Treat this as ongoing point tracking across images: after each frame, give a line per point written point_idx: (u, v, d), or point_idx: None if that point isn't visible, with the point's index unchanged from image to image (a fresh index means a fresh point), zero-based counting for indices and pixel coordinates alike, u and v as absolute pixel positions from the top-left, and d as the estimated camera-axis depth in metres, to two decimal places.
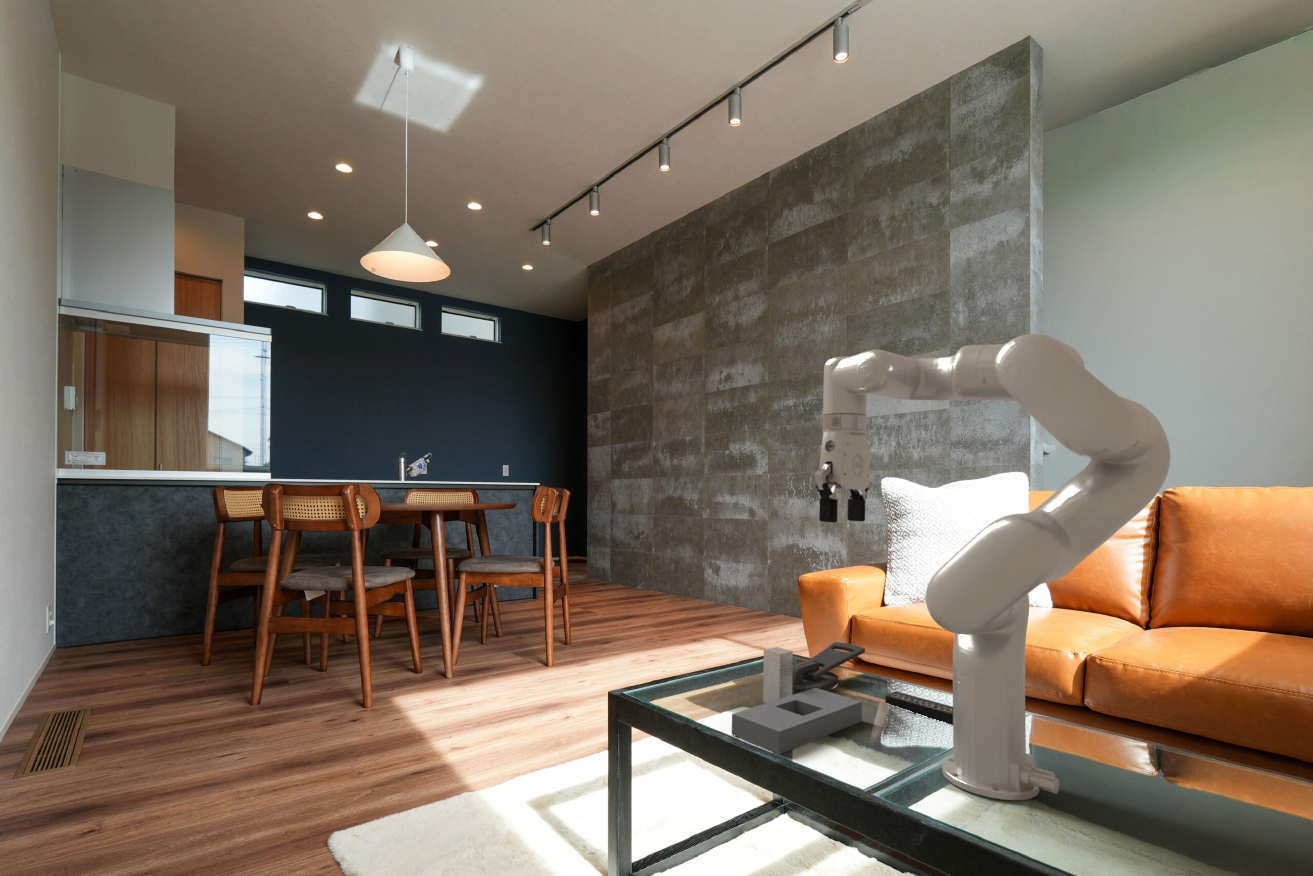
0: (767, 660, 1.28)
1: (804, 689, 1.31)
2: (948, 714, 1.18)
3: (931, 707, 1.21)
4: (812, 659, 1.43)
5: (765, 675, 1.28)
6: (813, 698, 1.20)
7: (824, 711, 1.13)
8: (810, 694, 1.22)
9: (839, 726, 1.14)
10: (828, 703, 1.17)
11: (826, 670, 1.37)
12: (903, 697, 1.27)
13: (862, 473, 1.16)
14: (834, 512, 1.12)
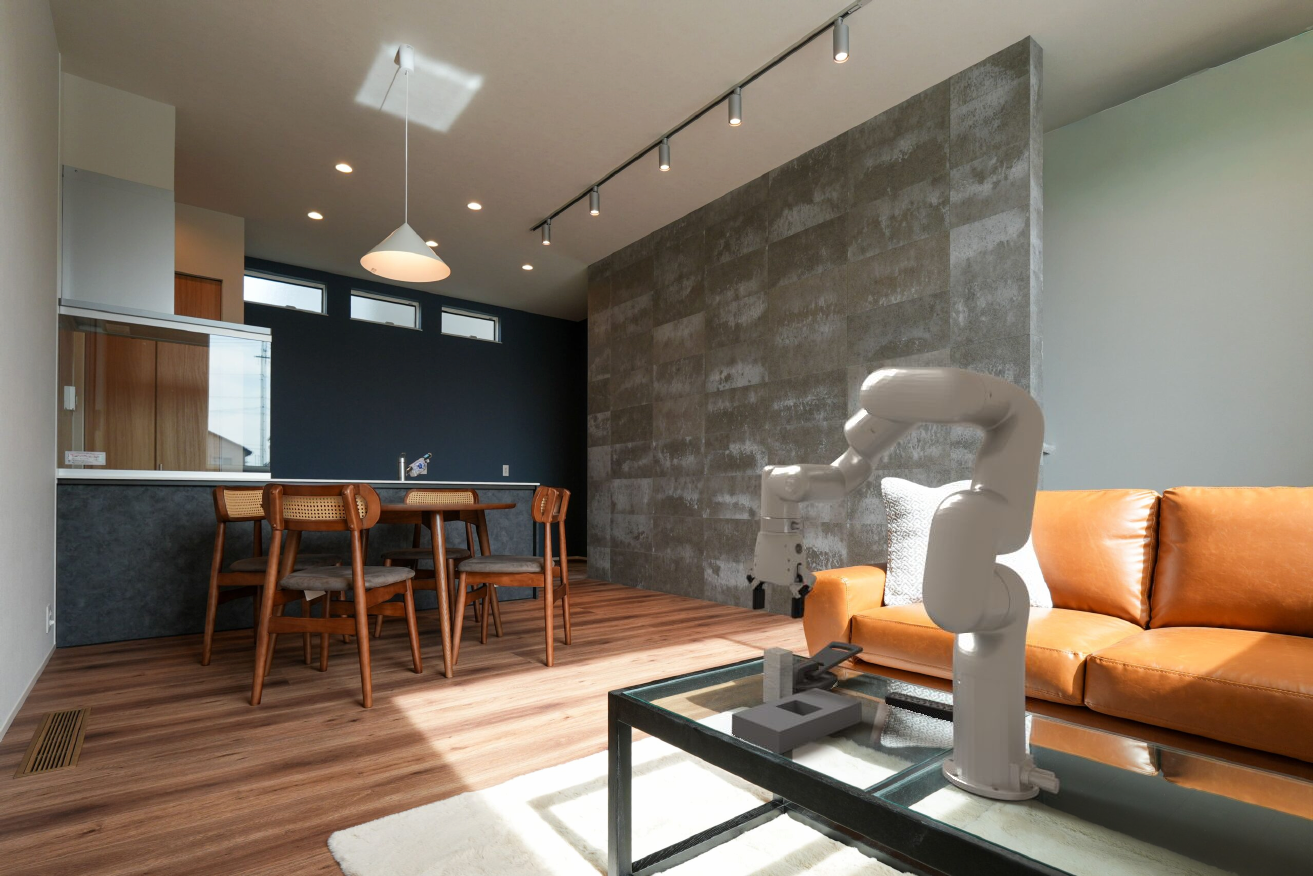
0: (767, 660, 1.28)
1: (805, 689, 1.31)
2: (952, 713, 1.19)
3: (934, 706, 1.22)
4: (811, 658, 1.43)
5: (765, 675, 1.28)
6: (813, 698, 1.20)
7: (824, 711, 1.13)
8: (810, 694, 1.22)
9: (839, 726, 1.14)
10: (828, 703, 1.17)
11: (826, 669, 1.38)
12: (902, 697, 1.27)
13: None
14: None
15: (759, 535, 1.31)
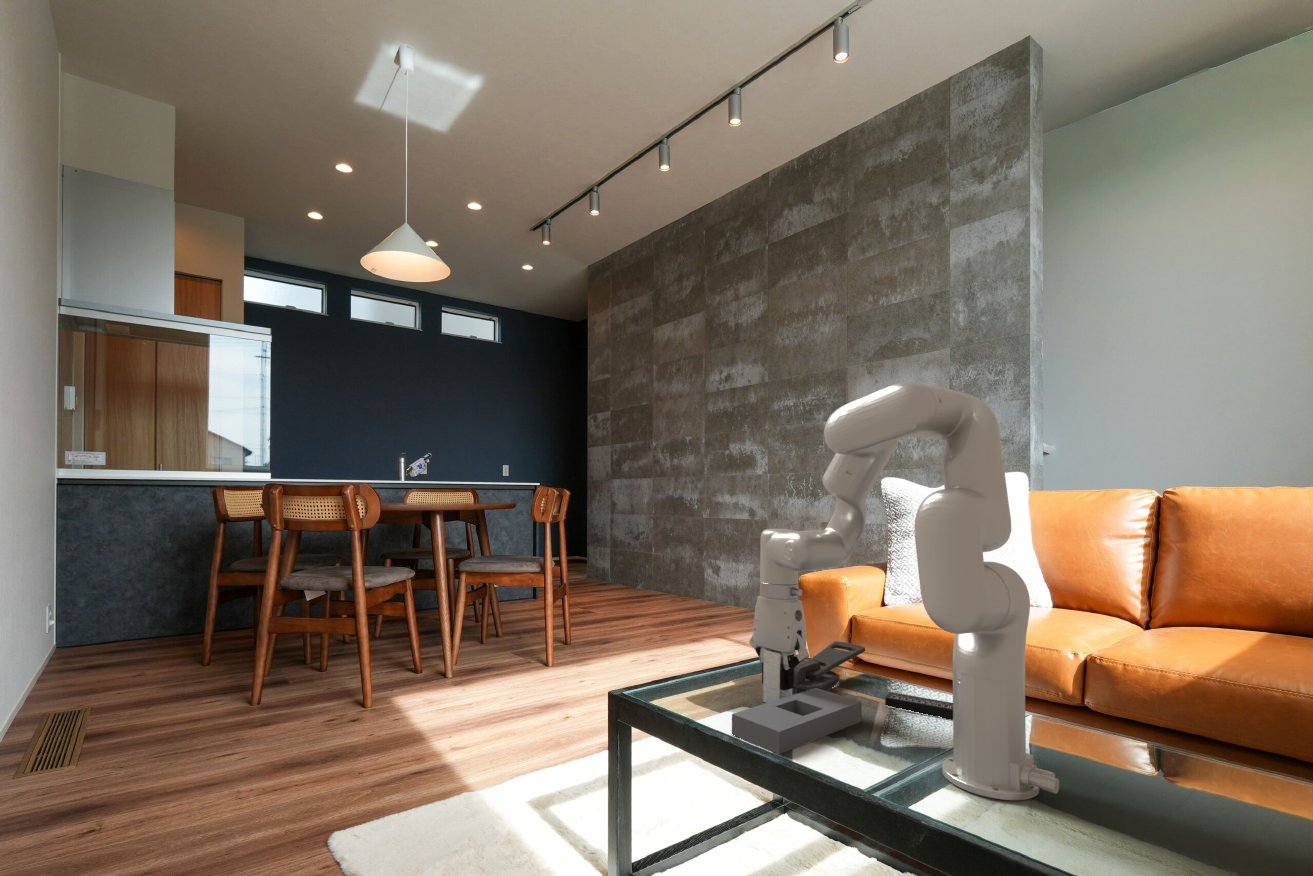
0: (767, 660, 1.28)
1: (806, 688, 1.31)
2: None
3: (936, 706, 1.22)
4: (813, 658, 1.43)
5: (765, 675, 1.28)
6: (813, 698, 1.20)
7: (824, 711, 1.13)
8: (810, 694, 1.22)
9: (839, 726, 1.14)
10: (828, 703, 1.17)
11: (827, 669, 1.38)
12: (902, 698, 1.26)
13: None
14: None
15: (758, 600, 1.30)
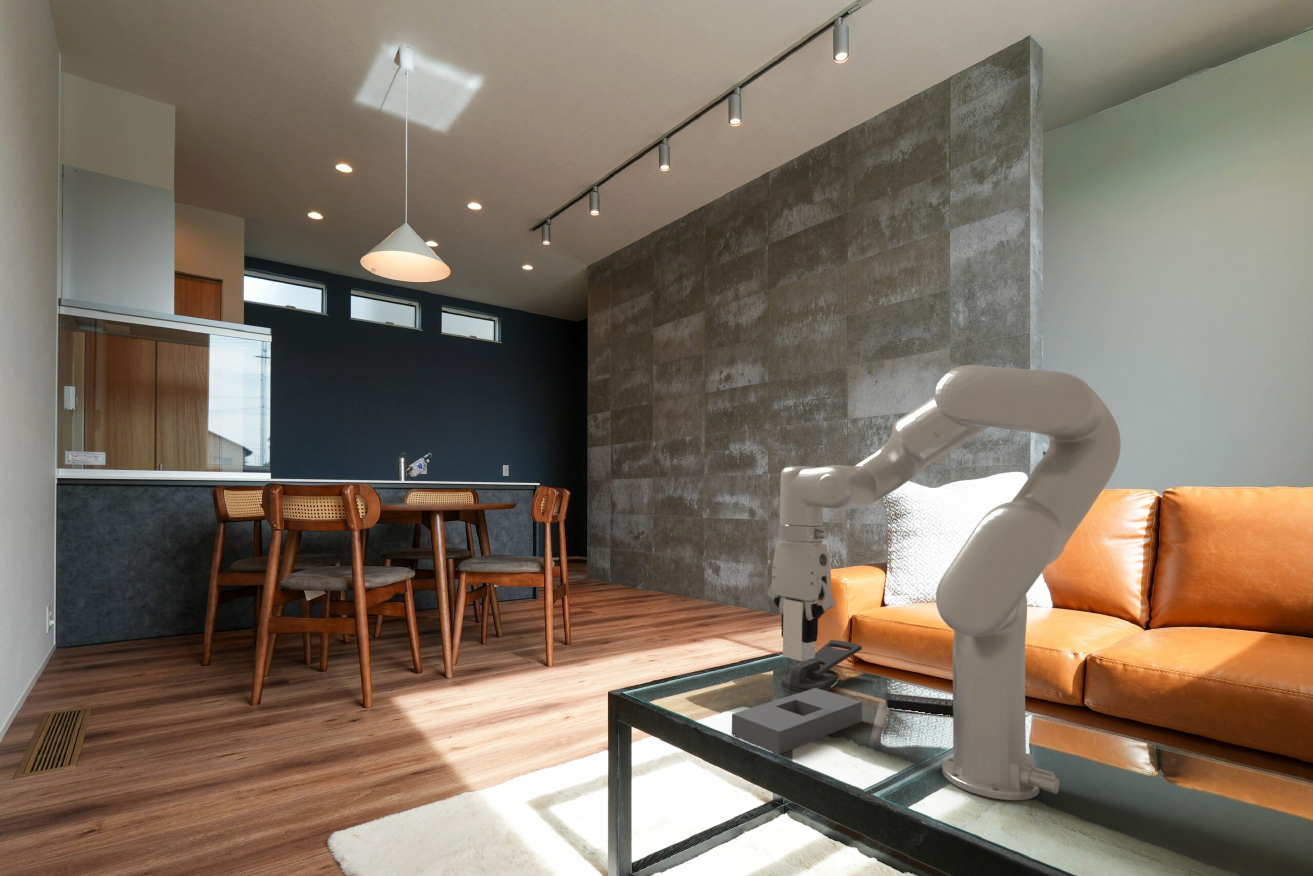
0: (787, 610, 1.15)
1: (808, 687, 1.32)
2: None
3: (938, 703, 1.23)
4: None
5: (785, 627, 1.15)
6: (813, 698, 1.20)
7: (824, 711, 1.13)
8: (810, 694, 1.22)
9: (839, 726, 1.14)
10: (828, 703, 1.17)
11: (827, 668, 1.39)
12: (902, 698, 1.26)
13: None
14: None
15: (778, 545, 1.18)
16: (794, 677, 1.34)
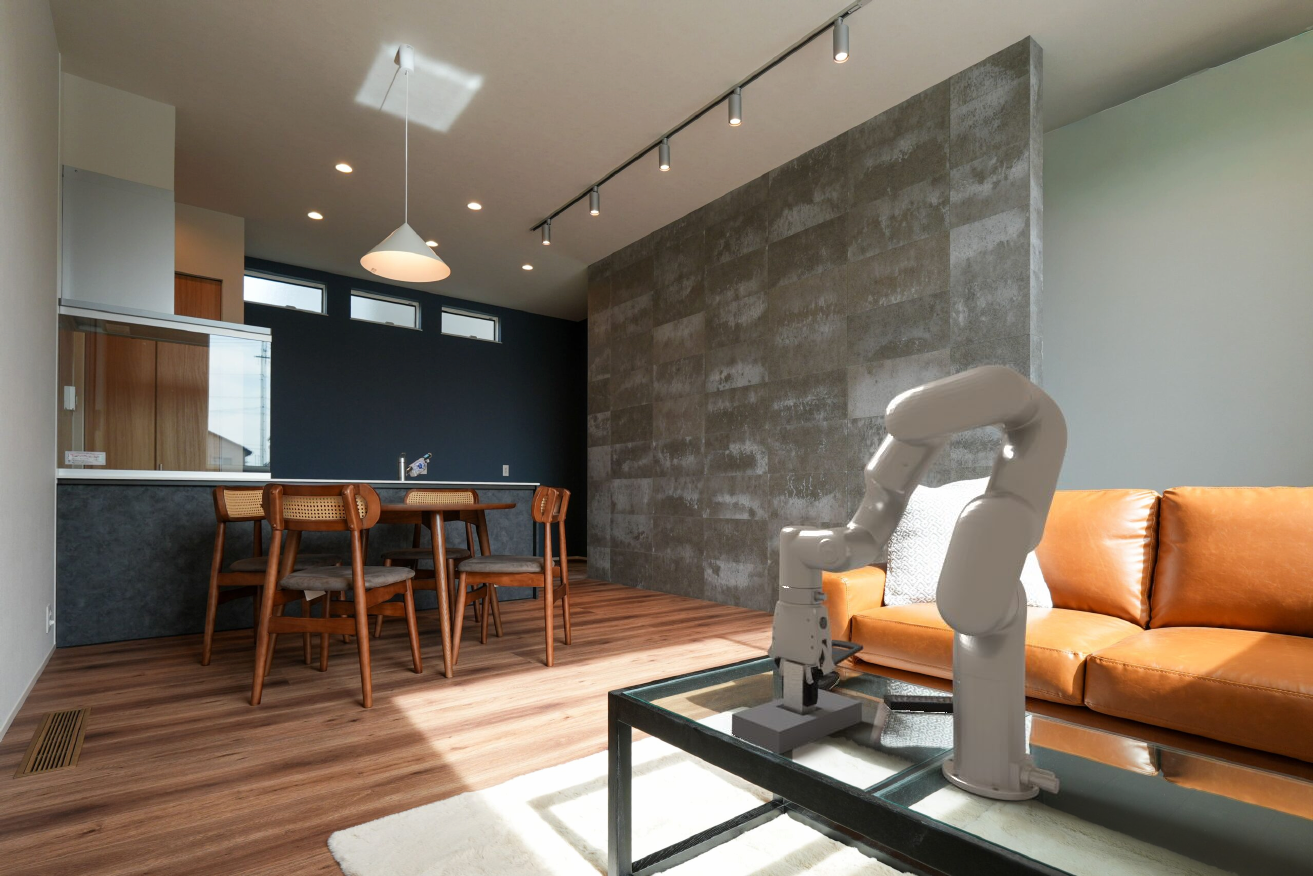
0: (788, 672, 1.14)
1: None
2: None
3: (938, 702, 1.24)
4: None
5: (785, 689, 1.14)
6: None
7: (824, 711, 1.13)
8: None
9: (839, 726, 1.14)
10: (828, 703, 1.17)
11: None
12: (903, 699, 1.26)
13: None
14: None
15: (778, 605, 1.17)
16: None
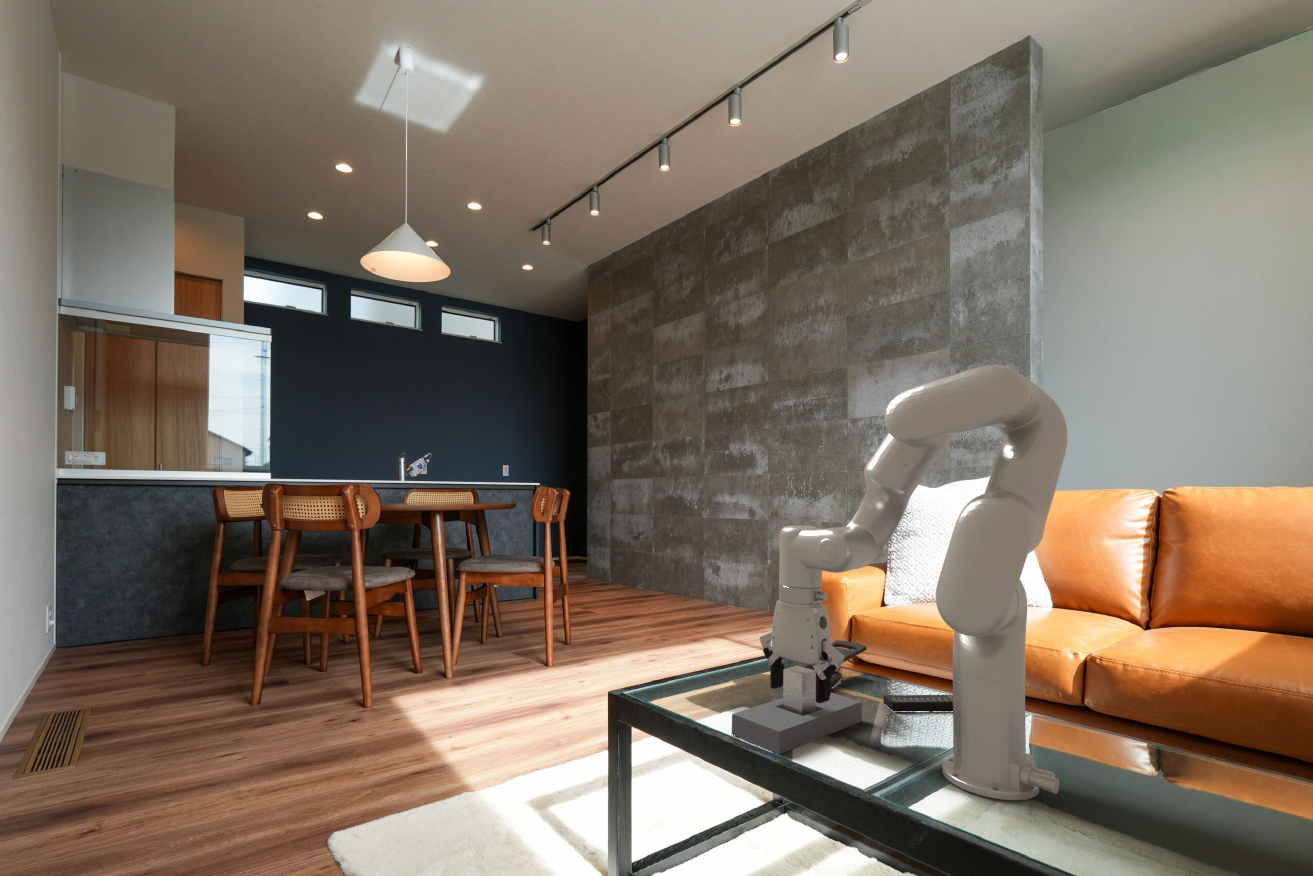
0: (787, 681, 1.14)
1: None
2: None
3: (937, 701, 1.25)
4: None
5: (785, 698, 1.14)
6: None
7: (824, 711, 1.13)
8: None
9: (839, 726, 1.14)
10: (828, 703, 1.17)
11: None
12: (903, 699, 1.26)
13: None
14: None
15: (777, 605, 1.17)
16: None
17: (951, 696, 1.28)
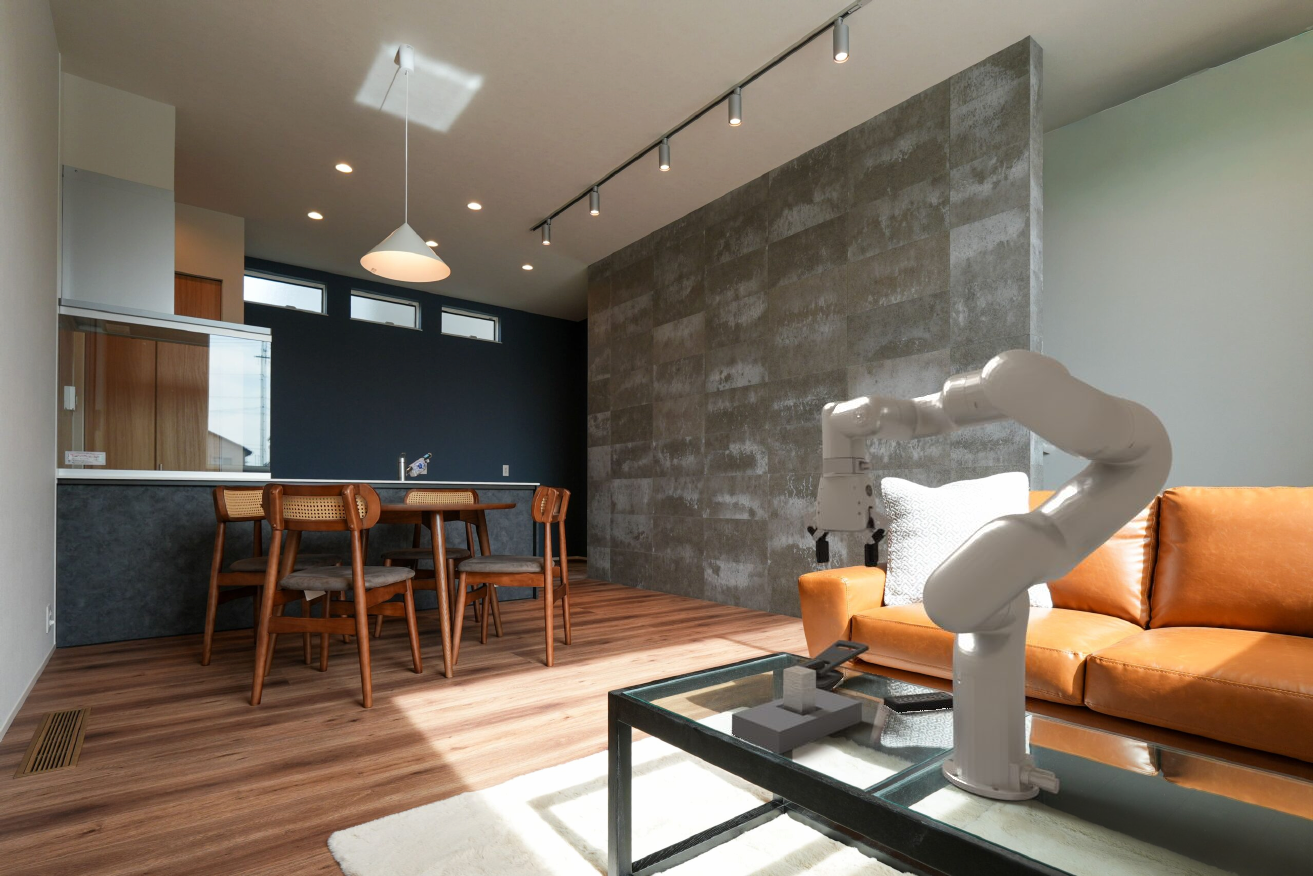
0: (787, 681, 1.14)
1: None
2: (952, 700, 1.27)
3: (935, 699, 1.26)
4: (817, 657, 1.45)
5: (785, 698, 1.14)
6: None
7: (824, 711, 1.13)
8: None
9: (839, 726, 1.14)
10: (828, 703, 1.17)
11: (832, 667, 1.39)
12: (904, 700, 1.25)
13: None
14: None
15: (822, 480, 1.19)
16: None
17: (944, 693, 1.30)
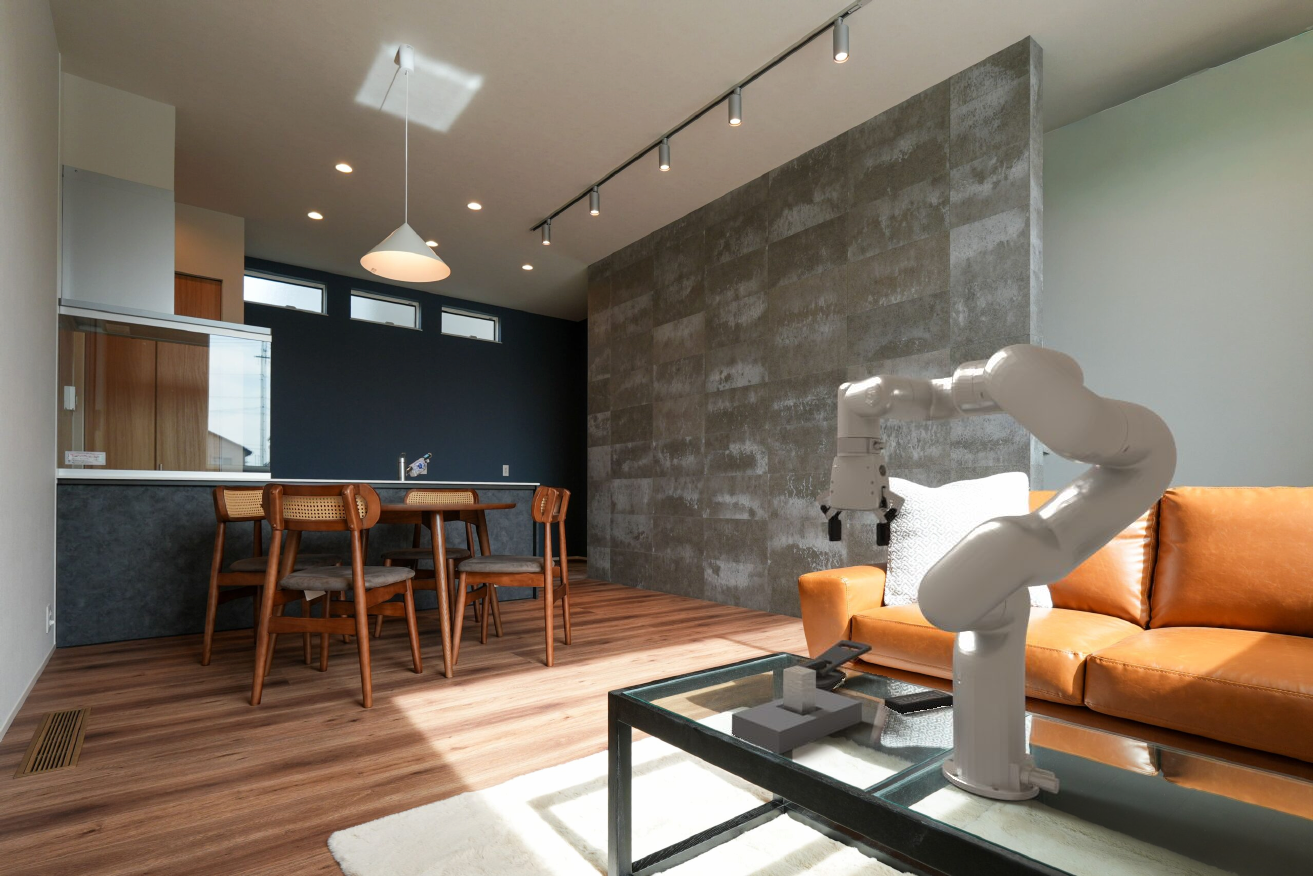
0: (787, 681, 1.14)
1: None
2: (947, 697, 1.28)
3: (933, 698, 1.27)
4: (819, 657, 1.45)
5: (785, 698, 1.14)
6: None
7: (824, 711, 1.13)
8: None
9: (839, 726, 1.14)
10: (828, 703, 1.17)
11: (833, 667, 1.39)
12: (905, 700, 1.25)
13: None
14: None
15: (836, 459, 1.20)
16: None
17: (938, 691, 1.31)
